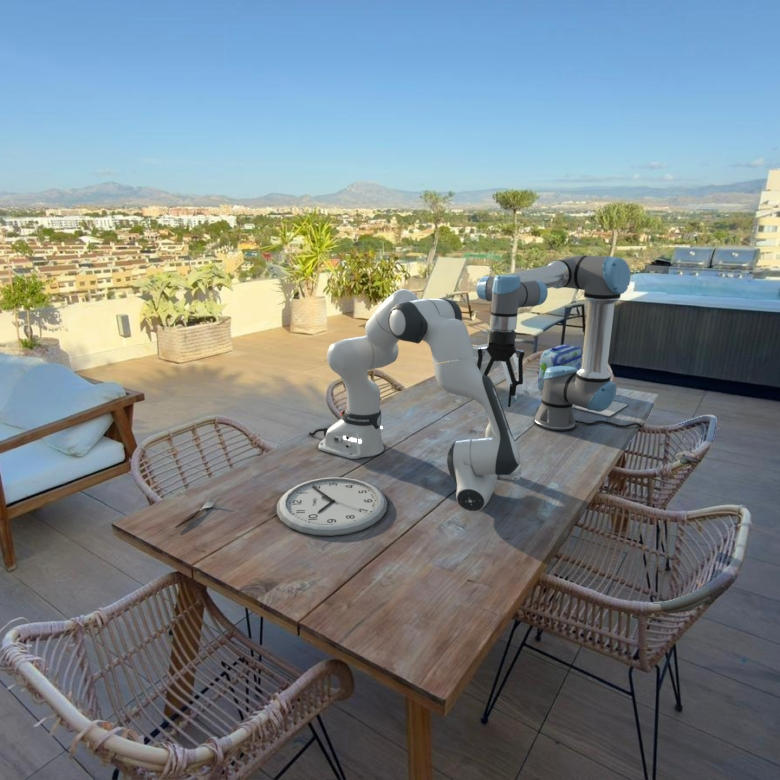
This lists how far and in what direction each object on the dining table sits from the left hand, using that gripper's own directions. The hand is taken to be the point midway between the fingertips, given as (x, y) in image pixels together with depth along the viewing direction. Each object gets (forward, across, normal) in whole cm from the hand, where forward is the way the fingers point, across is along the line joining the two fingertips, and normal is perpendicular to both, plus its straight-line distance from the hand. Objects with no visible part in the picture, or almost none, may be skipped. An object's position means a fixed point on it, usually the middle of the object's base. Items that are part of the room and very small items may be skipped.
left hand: (490, 455), depth 160 cm
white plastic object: (+84, +19, +7) cm, 86 cm away
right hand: (+4, 0, -16) cm, 16 cm away
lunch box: (+103, -15, +7) cm, 104 cm away
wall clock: (-35, +37, +7) cm, 51 cm away
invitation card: (+84, -34, +6) cm, 91 cm away
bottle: (+4, 0, +6) cm, 8 cm away
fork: (-52, +67, +7) cm, 86 cm away
